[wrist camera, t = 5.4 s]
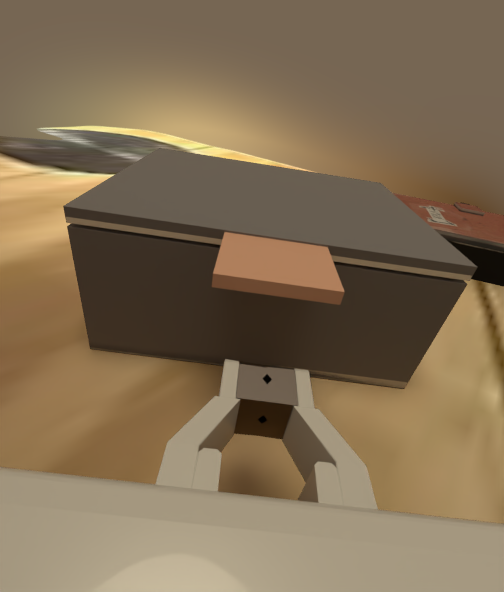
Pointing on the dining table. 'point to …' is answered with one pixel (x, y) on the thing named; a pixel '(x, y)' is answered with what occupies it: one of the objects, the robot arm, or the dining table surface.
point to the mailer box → (253, 311)
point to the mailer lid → (270, 222)
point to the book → (467, 233)
